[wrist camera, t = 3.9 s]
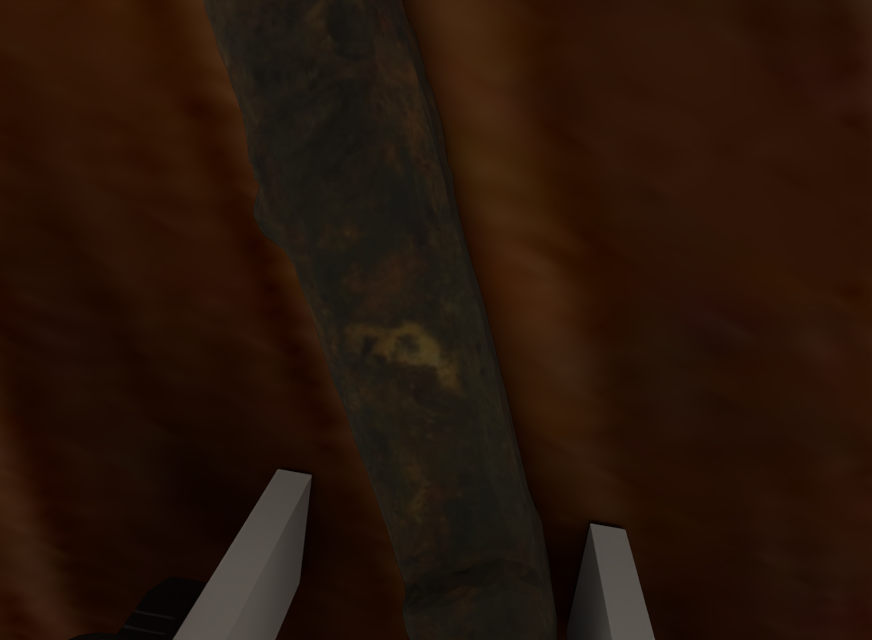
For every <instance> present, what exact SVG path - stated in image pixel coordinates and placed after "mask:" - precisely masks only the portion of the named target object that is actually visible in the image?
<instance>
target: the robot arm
mask: <svg viewBox="0 0 872 640" xmlns="http://www.w3.org/2000/svg"><path fill="white" fill-rule="evenodd" d="M311 478H312V475H309V474H303V473H298V472H292V471H286V470H280V469H278V470H277V471H276V473H275V475H274V476H273V478H272V480H271V481H270V483H269V484H268V486H267V488H266V489H265V491H264V493H263V494H262V496H261V497H260V499H259V501H258V502H257V504H256V505H255V507H254V509H253V510H252V512H251V514H250V515H249V517H248V518H247V520H246V522H245V523H244V525H243V527H242V528H241V530H240V531H239V533H238V535H237V536H236V538H235V540H234V541H233V543H232V544H231V546H230V548H229V549H228V551H227V553H226V554H225V556H224V557H223V559H222V561H221V562H220V564H219V566H218V567H217V569H216V570H215V572H214V574H213V575H212V577H211V578H210V580H209V582H208V583H206V582H200V581H195V580H189V579H184V578H178V577H173V576H171V577H169V578H168V579H166V580H165V581H163V582H162V583H160V584H158V585H157V586H155V587H154V588H152V589H150V590H149V591H148V592H147V594H146V595H145V596H144V598H143V599H142V601H141V602H140V603H139V605H138V606H137V607H136V609H135V612H134V613H132V614H131V616H130V617H129V618H128V620H127V621H126V623H125V624H124V628H121V630H120V631H119V632H118V634H117V635H116V634H107V633H92V634H85V635H79V636H77V637H74V638H71V639H69V640H275V639H276V637H277V634H278V632H279V630H280V627H281V625H282V623H283V620H284V618H285V616H286V613H287V611H288V609H289V606H290V604H291V602H292V599H293V597H294V595H295V592H296V590H297V588H298V585H299V583H300V574H301V565H302V557H303V548H304V539H305V531H306V522H307V513H308V505H309V496H310V487H311ZM566 633H567V640H655V638H654V634H653V631H652V627H651V623H650V620H649V616H648V612H647V608H646V605H645V601H644V597H643V593H642V590H641V586H640V582H639V579H638V575H637V571H636V567H635V564H634V560H633V556H632V553H631V549H630V545H629V541H628V538H627V534H626V530H624V529H619V528H613V527H607V526H602V525H596V524H590V527H589V531H588V536H587V540H586V545H585V549H584V554H583V558H582V563H581V567H580V572H579V576H578V581H577V585H576V590H575V594H574V599H573V603H572V608H571V612H570V617H569V621H568V626H567V630H566Z"/></svg>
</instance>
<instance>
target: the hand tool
mask: <svg viewBox="0 0 872 640" xmlns="http://www.w3.org/2000/svg"><path fill="white" fill-rule="evenodd" d="M203 2H204V5H205V9H206V12H207V16H208V19H209V21H210V24H211V26H212V29H213V31H214V34H215V37H216V41H217V46H218V50H219V54H220V56H221V58H222V60H223V62H224V64H225V66H226V68H227V71H228V74H229V77H230V81H231V84H232V86H233V89H234V92H235V95H236V97H237V100H238V103H239V106H240V108H241V111H242V114H243V119H244V126H245V132H246V139H247V145H248V157H249V162H250V163H251V165H252V166H253V171H254V179H255V180H256V181H257V182H258V183H259V190H258V194H257V197H256V200H255V205H254V217H255V219H256V221H257V223H258V225H259V227H260V229H261V231H262V233H263V234H264V235H265V236H266V237H268V238H269V239H270V240H271V241H273V242H274V243H275V244H276V245H278V246H279V247H281V248H283V249H284V250H285V252H286V253H287V255H288V257H289V258H290V260H291V261H292V263H293V264H294V266H295V269H296V272H297V275H298V278H299V281H300V284H301V287H302V290H303V293H304V296H305V298H306V301H307V304H308V307H309V310H310V312H311V315H312V318H313V321H314V324H315V326H316V330H317V333H318V336H319V339H320V342H321V346H322V349H323V352H324V355H325V358H326V361H327V364H328V367H329V370H330V373H331V376H332V379H333V382H334V384H335V386H336V389H337V391H338V393H339V396H340V398H341V400H342V403H343V405H344V408H345V411H346V414H347V417H348V420H349V424H350V427H351V430H352V433H353V436H354V439H355V442H356V445H357V447H358V450H359V453H360V455H361V458H362V460H363V463H364V466H365V468H366V471H367V473H368V476H369V479H370V482H371V485H372V488H373V490H374V493H375V496H376V499H377V502H378V505H379V507H380V510H381V513H382V516H383V519H384V522H385V524H386V527H387V530H388V533H389V536H390V538H391V542H392V545H393V549H394V553H395V557H396V561H397V565H398V567H399V570H400V572H401V574H402V577H403V579H404V582H405V591H406V592H405V598H404V604H403V610H402V613H403V617H404V622H405V627H406V632H407V634H408V636H409V638H410V640H557V616H556V610H555V604H554V598H553V592H552V585H551V575H550V568H549V562H548V555H547V550H546V545H545V540H544V533H543V525H542V521H541V519H540V516H539V514H538V512H537V510H536V508H535V506H534V503H533V500H532V497H531V495H530V492H529V489H528V485H527V481H526V477H525V472H524V468H523V464H522V459H521V455H520V451H519V447H518V443H517V439H516V435H515V431H514V427H513V422H512V418H511V413H510V408H509V403H508V398H507V395H506V391H505V387H504V383H503V380H502V376H501V372H500V367H499V363H498V359H497V355H496V351H495V347H494V342H493V338H492V334H491V330H490V326H489V322H488V318H487V314H486V310H485V306H484V302H483V299H482V295H481V291H480V288H479V284H478V281H477V278H476V274H475V271H474V269H473V266H472V262H471V259H470V255H469V252H468V248H467V244H466V240H465V237H464V233H463V229H462V225H461V221H460V217H459V212H458V207H457V204H456V200H455V197H454V186H453V173H452V171H451V169H450V167H449V165H448V161H447V154H446V147H445V140H444V133H443V128H442V124H441V120H440V117H439V113H438V110H437V106H436V103H435V99H434V96H433V92H432V90H431V87H430V85H429V82H428V80H427V78H426V75H425V69H424V63H423V60H422V56H421V52H420V49H419V45H418V41H417V38H416V35H415V33H414V31H413V29H412V27H411V25H410V23H409V20H408V18H407V16H406V13H405V10H404V6H403V0H203Z"/></svg>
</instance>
